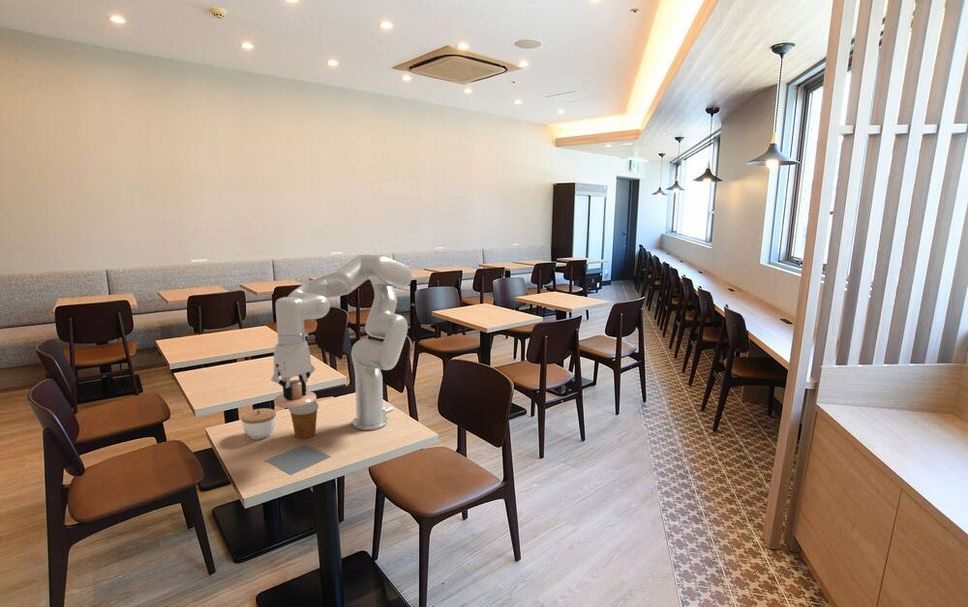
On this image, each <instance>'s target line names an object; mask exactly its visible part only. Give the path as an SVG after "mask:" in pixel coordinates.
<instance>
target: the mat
mask: <svg viewBox="0 0 968 607" xmlns="http://www.w3.org/2000/svg"><path fill="white" fill-rule="evenodd" d="M330 458H331V455H329V454H327V453H325V452H322V451H320V450H318V449H317V448H314V447H313V446H310V445H308V444H305V443H304V444H302V445H299V446H297V447H294V448H291V449H290V450H287V451H284V452H282V453H279V454H277V455H274V456H273V457H270V458H268V459H265V460H264V461H265V462H267V463H268V464H270V465H272V466H273V467H276V468H277V469H279V470H281V471H282V472H284V473H287V474H288V475H290V476H292V475H295V474H296V473H299V472H301V471H303V470H305V469H308V468H310V467H312V466H314V465H316V464H318V463H320V462H323V461H325V460H328V459H330Z"/></svg>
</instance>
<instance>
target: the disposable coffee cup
mask: <svg viewBox="0 0 968 607" xmlns="http://www.w3.org/2000/svg"><path fill="white" fill-rule="evenodd" d="M318 409H319V404H318V402H317V400H315V401H314V402H313V403H311V404H309V405H306V406H302V407H297V408H288V411H289V412H290V417H291V420H292V425H293V426H292V428H293V431H294V435H295V438H296V439H297V440H308V439H311V438H313V437H314V436H315V435H316V426H317V418H318V417H317V416H318Z"/></svg>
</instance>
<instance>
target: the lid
mask: <svg viewBox="0 0 968 607" xmlns="http://www.w3.org/2000/svg"><path fill="white" fill-rule="evenodd" d="M290 387H291V388H292V400H287V399H285V398H284V395H283V393H282V394H279V395H276V397H274V399H273V404H274V405H275V406H276V407H278V408H283V409H289V408H297V407H302V406H306V405H309V404H311V403H313V402H314V401H317V395H316V393H315V392H313V391H309V390H306V395H305V396H303V395H302V382H301V381H300V380H299V379H292V380H290Z"/></svg>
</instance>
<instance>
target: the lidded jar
mask: <svg viewBox="0 0 968 607" xmlns="http://www.w3.org/2000/svg"><path fill="white" fill-rule="evenodd" d="M276 413H277V412H276V411H275V410H274V409H272V408H255V409H252V410H250V411H246V412H245V413H243V414H242V415H241V423H242V428H243V431H244V432H245V434H246V435H247V436H248V437H250V438H251V439H253V440H262V438H263V439H265V437H266V438H268V437H269V436H270V435H271V434H272V432H273V431H274V430H275V427H276V421H277V420H276V418H277V417H276V415H277V414H276Z"/></svg>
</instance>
